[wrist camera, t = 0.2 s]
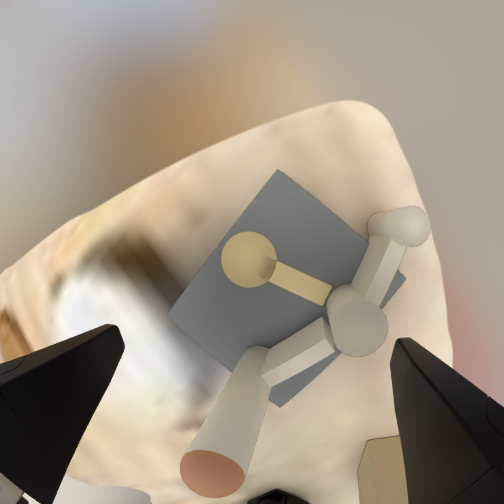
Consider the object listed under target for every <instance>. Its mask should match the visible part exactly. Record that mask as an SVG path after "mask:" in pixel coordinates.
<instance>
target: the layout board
mask: <svg viewBox="0 0 504 504" xmlns="http://www.w3.org/2000/svg"><path fill="white" fill-rule="evenodd" d="M368 246H369V243H368V242H367V241H366V240H365V239H363V238H362V237H361V236H360V235H359V234H358V233H357V232H355V231H354V230H353V229H352V228H351V227H350V226H349V225H347V224H346V223H345V222H344V221H343V220H341V219H340V218H339V217H338V216H337V215H336V214H334V213H333V212H332V211H331V210H329V209H328V208H327V207H326V206H325V205H323V204H322V203H321V202H320V201H318V200H317V199H316V198H315V197H313V196H312V195H311V194H310V193H308V192H307V191H306V190H305V189H303V188H302V187H301V186H299V185H298V184H297V183H296V182H294V181H293V180H292V179H290V178H289V177H288V176H286V175H285V174H284V173H282V172H281V171H280V170H278V169H277V171H276V172H275V173H274V174H273V176H272V177H271V178H270V179H269V181H268V182H267V183H266V184H265V186H264V187H263V188H262V190H261V191H260V192H259V193H258V195H257V196H256V197H255V198H254V200H253V201H252V202H251V203H250V205H249V206H248V207H247V209H246V210H245V211H244V212H243V214H242V215H241V216H240V218H239V219H238V220H237V222H236V223H235V224H234V225H233V227H232V228H231V229H230V231H229V232H228V233H227V235H226V236H225V237H224V238H223V240H222V241H221V242H220V244H219V245H218V246H217V248H216V249H215V250H214V252H213V253H212V254H211V256H210V257H209V258H208V260H207V261H206V262H205V264H204V265H203V266H202V268H201V269H200V270H199V272H198V273H197V274H196V276H195V277H194V279H193V280H192V281H191V283H190V284H189V285H188V287H187V288H186V289H185V291H184V292H183V294H182V295H181V296H180V298H179V299H178V300H177V302H176V303H175V305H174V306H173V307H172V309H171V310H170V312H169V313H168V314H167V317H168V318H169V319H170V320H171V321H173V322H174V323H175V324H176V325H177V326H178V327H179V328H180V329H181V330H182V331H184V332H185V333H186V334H187V335H188V336H189V337H190V338H191V339H193V340H194V341H195V342H196V343H197V344H198V345H199V346H201V347H202V348H203V349H204V350H205V351H206V352H208V353H209V354H210V355H211V356H212V357H214V358H215V359H216V360H217V361H219V362H220V363H221V364H222V365H223V366H225V367H226V368H227V369H228V370H230V371H231V372H232V373H233V371H234V369H235V367H236V366H237V364H238V362H239V360H240V358H241V357H242V355H243V353H244V352H245V351H246V350H247V349H248V348H250V347H253V346H263V347H266V348H268V349H270V348H272V347H273V346H275V345H277V344H278V343H280V342H282V341H283V340H285V339H287V338H288V337H290V336H292V335H293V334H295V333H297V332H298V331H300V330H301V329H303V328H305V327H306V326H308V325H309V324H311V323H312V322H314V321H316V320H317V319H319V318H320V317H323V318H324V320H325V321H326V322H327V324H328V325H329V327H330V322H329V318H328V314H327V308H326V305H327V300H328V297H329V295H330V294H331V293H332V291H333V290H334V289H336V288H337V287H339V286H341V285H344V284H351V283H352V281H353V279H354V276H355V274H356V272H357V270H358V268H359V266H360V264H361V261H362V259H363V257H364V255H365V253H366V250H367V248H368ZM405 280H406V278H405V277H404V276H403V275H402V274H401V273H400V272H399V271H398V270H397V271H396V273H395V275H394V277H393V279H392V282H391V284H390V286H389V288H388V290H387V292H386V294H385V296H384V298H383V300H382V302H381V304H380V306H379V308H380V309H382V308H383V307H384V306H385V305H386V303H387V302H388V301H389V300H390V299H391V297H392V296H393V295H394V294H395V292H396V291H397V290H398V289H399V288H400V286H401V285H402V284H403V282H404V281H405ZM330 330H331V327H330ZM331 335H332V331H331ZM332 340H333V336H332ZM333 345H334V350H335V352H334V353H332V354H330V355H329V356H327V357H325V358H324V359H322V360H320V361H319V362H317V363H315V364H314V365H312V366H310V367H308V368H307V369H305V370H303V371H301V372H299V373H298V374H296V375H294V376H292V377H290V378H288V379H286V380H284V381H283V382H281V383H279V384H277V385H275V386H273V387H272V388H271V391H270V395H269V399H268V400H270V401H271V402H273V403H274V404H275V405H277V406H278V407H282V406H283V405H284V404H285V403H286V402H288V401H289V400H290V399H291V398H292V397H294V396H295V395H296V394H297V393H298V392H299V391H301V390H302V389H303V388H304V387H305V386H306V385H307V384H309V383H310V382H311V381H312V380H313V379H314V378H315V377H316V376H317V375H319V374H320V373H321V372H322V371H323V370H324V369H325V368H326V367H327V366H328V365H329V364H330V363H331V362H332V361H333V360H334V359H335V358H336V357H337V356H338V355H339V354H340V353H341V351H340V350H339V349H338V348H337V347H336V345H335V343H334V340H333Z"/></svg>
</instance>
